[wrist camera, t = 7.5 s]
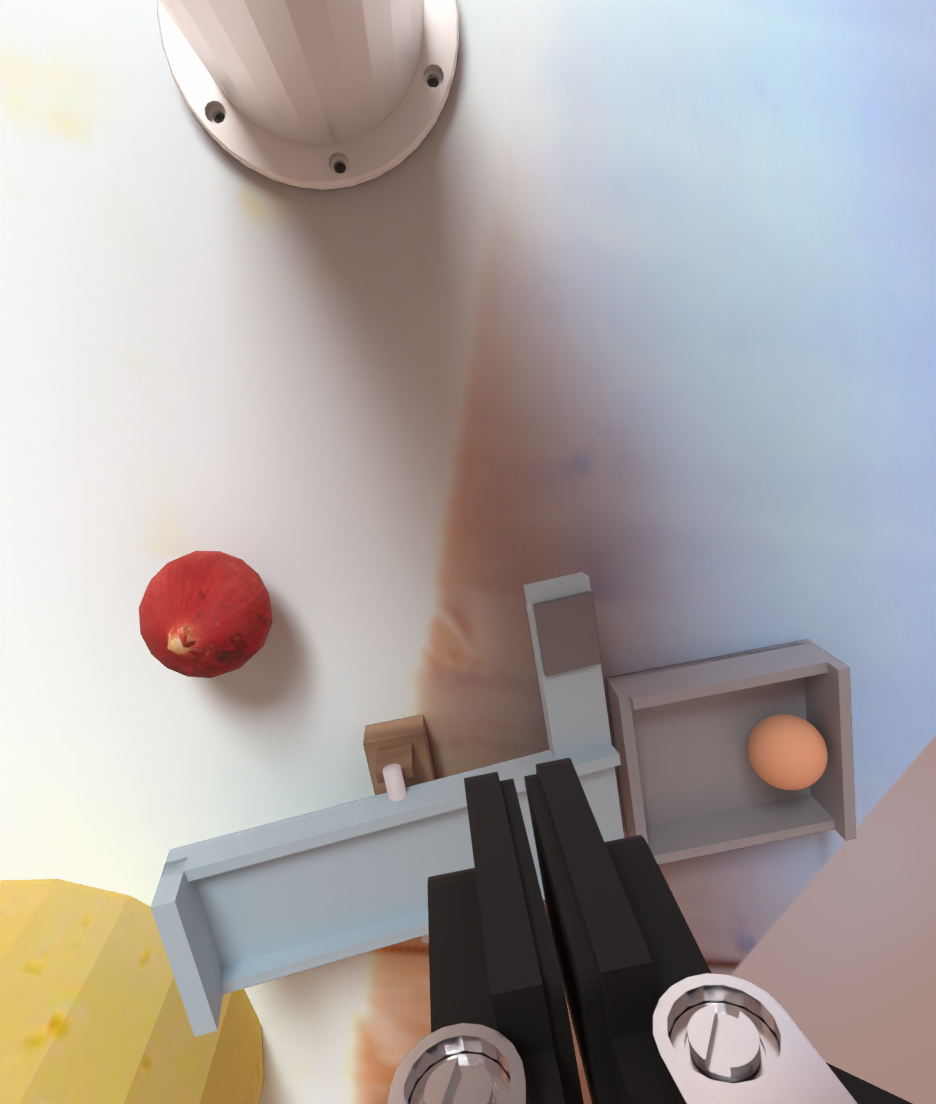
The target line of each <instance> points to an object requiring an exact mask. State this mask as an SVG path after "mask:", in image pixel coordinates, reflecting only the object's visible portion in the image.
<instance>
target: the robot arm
mask: <svg viewBox="0 0 936 1104" xmlns="http://www.w3.org/2000/svg"><path fill="white" fill-rule="evenodd" d="M157 14H158V20H159V27H160V33H161V39H162V46H163V49H164V52H165V55H166V58H167V61H168V64H169V67H170V70H171V73H172V76H173V79H174V81H175V82H176V84H177V86H178V88H179V90H180V92H181V94H182V96H183V98H184V99H185V101H186V103H187V105H188V107H189V108H190V110H191V111H192V112H193V114H194V115H195V116H196V118H197V119H198V120H199V122H200V123H201V124H202V126H203V127H204V128H205V129H206V131H207V132H208V133H209V134H210V135H211V136H212V137H213V138H214V139H215V140H216V141H217V142H218V143H219V145H220V146H221V147H222V148H223V149H225V150H226V151H227V152H228V153H230V154H231V155H232V156H234V157H235V158H236V159H237V160H239V161H240V162H241V163H243V164H244V165H245V166H247V167H248V168H250V169H252V170H254V171H256V172H258V173H260V174H262V175H264V176H266V177H268V178H270V179H272V180H275V181H278V182H282V183H285V184H288V185H292V186H295V187H300V188H311V189H322V190H327V189H335V188H344V187H351V186H354V185H357V184H360V183H363V182H366V181H369V180H372V179H375V178H377V177H379V176H380V175H382V174H384V173H385V172H387V171H389V170H391V169H392V168H394V167H396V166H397V165H399V164H400V163H401V162H402V161H403V160H404V159H405V158H407V157H408V156H409V155H410V154H411V153H412V152H413V151H414V150H415V149H416V148H417V147H419V145H420V144H421V143H422V141H423V140H424V138H425V137H426V136H427V134H428V133H429V132H430V130H431V129H432V128H433V126H434V125H435V123H436V121H437V119H438V117H439V115H440V113H441V111H442V109H443V107H444V105H445V102H446V100H447V98H448V95H449V91H450V87H451V84H452V80H453V77H454V73H455V69H456V61H457V54H458V48H459V10H458V4H457V0H158V9H157ZM430 78H436V79H437V80H438V82H439V84H438V86H437V87H430V86H429V85H428V83H427V82H428V80H429V79H430ZM219 113H223V114H224V115H225V118H224V120H223V122H221V123H216V122H215V117H216V115H217V114H219ZM338 163H343V164H344V165H345V166H346V170H345V171H344V172H343V173H337V172H336V171H335V166H336V165H337V164H338ZM524 780H525V787H526V793H527V798H528V804H529V810H530V816H531V822H532V827H533V833H534V839H535V845H536V851H537V857H538V862H539V868H540V874H541V880H542V886H543V891H544V897H545V903H546V909H547V914H546V910H545V906H544V902H543V898H542V894H541V890H540V886H539V881H538V877H537V873H536V869H535V865H534V861H533V857H532V853H531V849H530V845H529V841H528V836H527V832H526V828H525V824H524V820H523V816H522V812H521V808H520V804H519V800H518V795H517V791H516V787H515V783H514V779H513V778H512V779H507V780H502V781H500V779H499V775H498V772H492V773H487V774H482V775H477V776H472V777H467V778H464V785H465V793H466V801H467V809H468V817H469V825H470V833H471V842H472V850H473V858H474V866H475V868H471V869H466V870H461V871H456V872H451V873H446V874H441V875H436V876H431V877H428V884H427V891H428V927H429V964H430V1001H431V1034H429V1035H427V1036H425V1037H424V1038H422V1039H421V1040H420V1041H419V1042H418V1043H417V1044H416V1045H415V1046H413V1047H412V1048H411V1049H410V1050H409V1051H408V1052H407V1054H406V1055H405V1057H404V1058H403V1060H402V1061H401V1063H400V1064H399V1066H398V1067H397V1069H396V1072H395V1075H394V1078H393V1081H392V1084H391V1087H390V1090H389V1095H388V1101H387V1104H584V1103H583V1097H582V1091H581V1086H580V1080H579V1074H578V1068H577V1062H576V1056H575V1050H574V1044H573V1038H572V1033H571V1027H570V1021H569V1015H568V1009H567V1003H566V998H567V1002H568V1006H569V1010H570V1015H571V1019H572V1023H573V1027H574V1031H575V1035H576V1039H577V1043H578V1047H579V1051H580V1056H581V1060H582V1064H583V1068H584V1072H585V1076H586V1080H587V1084H588V1088H589V1093H590V1097H591V1101H592V1104H912V1103H910V1102H907V1101H906V1100H903V1099H901V1098H899V1097H897V1096H895V1095H893V1094H891V1093H889V1092H887V1091H884V1090H882V1089H880V1088H878V1087H876V1086H874V1085H872V1084H870V1083H868V1082H866V1081H864V1080H861V1079H859V1078H857V1077H855V1076H853V1075H851V1074H849V1073H847V1072H845V1071H843V1070H841V1069H839V1068H836V1067H834V1066H832V1065H830V1064H828V1063H826V1062H825V1061H824V1060H823V1059H822V1058H821V1056H820V1055H819V1053H818V1052H817V1051H816V1050H815V1048H814V1047H813V1046H812V1045H811V1043H810V1042H809V1041H808V1040H807V1038H806V1037H805V1035H804V1034H803V1033H802V1032H801V1030H800V1029H799V1028H798V1027H797V1025H796V1024H795V1023H794V1021H793V1020H792V1019H791V1018H790V1016H789V1015H788V1014H787V1012H786V1011H785V1010H784V1008H783V1007H782V1006H780V1004H779V1003H778V1002H776V1000H775V999H774V998H773V997H772V996H771V995H769V993H767V992H766V991H764V990H762V989H761V988H759V987H757V986H756V985H754V984H752V983H751V982H749V981H746V980H743V979H739V978H737V977H733V976H730V975H725V974H712V973H711V971H710V969H709V967H708V965H707V963H706V961H705V959H704V957H703V955H702V953H701V951H700V949H699V947H698V945H697V943H696V941H695V939H694V937H693V935H692V933H691V931H690V929H689V927H688V925H687V923H686V921H685V919H684V917H683V915H682V913H681V911H680V909H679V907H678V905H677V902H676V900H675V898H674V896H673V894H672V892H671V890H670V888H669V886H668V884H667V882H666V880H665V878H664V876H663V874H662V872H661V870H660V868H659V866H658V864H657V862H656V860H655V858H654V856H653V854H652V852H651V850H650V848H649V846H648V844H647V842H646V840H645V839H644V837H643V836H641V835H637V836H632V837H627V838H622V839H617V840H612V841H607V842H604V840H603V837H602V835H601V832H600V830H599V827H598V825H597V822H596V820H595V817H594V815H593V812H592V810H591V807H590V805H589V803H588V800H587V798H586V795H585V793H584V790H583V788H582V785H581V783H580V780H579V778H578V775H577V773H576V770H575V768H574V765H573V763H572V761H571V759H570V758H564V759H559V760H554V761H549V762H544V763H539V764H536V774H533V775H528V776H524ZM547 915H548V918H547ZM548 920H549V922H548ZM549 926H550V927H549ZM563 986H564V987H563ZM564 990H565V992H564ZM565 994H566V998H565Z"/></svg>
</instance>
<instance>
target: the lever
mask: <svg viewBox="0 0 936 1104" xmlns="http://www.w3.org/2000/svg"><path fill="white" fill-rule="evenodd" d="M523 587H524V593H525V600H526V606H527V612H528V619H529V625H530V631H531V637H532V644H533V650H534V656H535V662H536V669H537V675H538V681H539V687H540V694H541V700H542V706H543V713H544V719H545V725H546V731H547V738H548V744H549V750H547V751H543V752H539V753H535V754H531V755H528V756H524V757H520V758H516V759H512V760H509V761H505V762H501V763H497V764H493V765H490V766H486V767H482V768H478V769H474V770H471V771H467V772H463V773H459V774H455V775H452V776H448V777H444V778H440V779H436V780H433V781H429V782H425V783H421V784H417V785H414V786H410V787H406V788H405V783H404V779H403V774H402V770H401V766H400V765H399V764H389V765H387V766H385V767H384V768H383V775H384V780H385V784H386V788H387V793H383V794H379V795H376V796H372V797H368V798H364V799H360V800H357V801H353V802H349V803H345V804H341V805H338V806H334V807H330V808H326V809H323V810H319V811H315V812H311V813H307V814H304V815H300V816H296V817H292V818H288V819H285V820H281V821H277V822H273V823H269V824H266V825H262V826H258V827H254V828H250V829H247V830H243V831H239V832H235V833H231V834H228V835H224V836H220V837H216V838H212V839H209V840H205V841H201V842H197V843H193V844H190V845H186V846H182V847H178V848H174V849H171V850H170V851H169V854H168V857H167V860H166V863H165V866H164V869H163V872H162V875H161V878H160V881H159V884H158V887H157V890H156V893H155V896H154V899H153V902H152V905H151V911H152V914H153V917H154V920H155V923H156V926H157V928H158V931H159V934H160V937H161V940H162V943H163V946H164V949H165V952H166V955H167V958H168V961H169V964H170V967H171V970H172V972H173V975H174V978H175V981H176V984H177V987H178V990H179V993H180V996H181V999H182V1002H183V1005H184V1008H185V1011H186V1014H187V1016H188V1019H189V1022H190V1025H191V1028H192V1031H193V1034H194V1037H197V1036H200V1035H204V1034H207V1033H210V1032H214V1031H217V1029H218V1023H219V1017H220V1011H221V1005H222V999H223V994H226V993H230V992H233V991H237V990H240V989H243V988H247V987H250V986H254V985H257V984H260V983H264V982H267V981H271V980H274V979H277V978H281V977H284V976H288V975H291V974H294V973H298V972H301V971H305V970H308V969H311V968H315V967H318V966H322V965H325V964H328V963H332V962H335V961H339V960H342V959H345V958H349V957H352V956H356V955H359V954H362V953H366V952H369V951H372V950H376V949H379V948H383V947H386V946H389V945H393V944H396V943H400V942H403V941H406V940H410V939H413V938H417V937H421V941H422V942H423V943H427V944H428V943H429V927H428V891H427V884H428V877H431V876H436V875H441V874H446V873H451V872H456V871H461V870H466V869H471V868H475V866H474V858H473V850H472V842H471V833H470V825H469V817H468V809H467V801H466V793H465V785H464V778H467V777H472V776H477V775H482V774H487V773H492V772H498V775H499V779H500V781H502V780H507V779H512V778H513V779H514V783H515V787H516V791H517V795H518V800H519V804H520V808H521V812H522V816H523V820H524V824H525V828H526V832H527V836H528V841H529V845H530V849H531V853H532V857H533V861H534V865H535V869H536V873H537V877H538V881H539V886H540V890H541V894H542V898H543V900H545V897H544V891H543V886H542V880H541V874H540V868H539V862H538V857H537V851H536V845H535V839H534V833H533V827H532V822H531V816H530V810H529V804H528V798H527V793H526V787H525V780H524V776H528V775H533V774H536V764H539V763H544V762H549V761H554V760H559V759H564V758H570V759H571V761H572V763H573V765H574V768H575V770H576V773H577V775H578V778H579V780H580V783H581V785H582V788H583V790H584V793H585V795H586V798H587V800H588V803H589V805H590V807H591V810H592V812H593V815H594V817H595V820H596V822H597V825H598V827H599V830H600V832H601V835H602V837H603V840H604V842H607V841H612V840H617V839H622V838H624V833H623V825H622V818H621V810H620V803H619V795H618V788H617V781H616V773H615V766H618V765H621V763H620V755H619V753H618V752H617V751H616V749H615V748H614V747H613V746H612V743H611V736H610V729H609V721H608V714H607V706H606V699H605V691H604V684H603V676H602V669H601V657H600V650H599V642H598V635H597V627H596V620H595V612H594V605H593V597H592V593H591V587H590V580H589V576H587V575H586V574H584V573H583V572H578V573H574V574H569V575H565V576H561V577H556V578H552V579H547V580H543V581H539V582H534V583H530V584H525V585H523Z"/></svg>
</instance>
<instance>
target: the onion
mask: <svg viewBox="0 0 936 1104" xmlns="http://www.w3.org/2000/svg"><path fill="white" fill-rule="evenodd" d="M139 616H140V631H141V635H142V637H143V639H144V641H145V643H146V645H147V647H148V648H149V650H150V652H151V654H152V655H153V656H154V657H155V658H156V659H158V660H159V661H160V662H161V663H162V664H163V665H164V666H166V667H167V668H168V669H171V670H173V671H176V672H178V673H181V674H183V675H186V676H189V677H205V678H212V677H215V676H218V675H221V674H224V673H227V672H230V671H233V670H236V669H239V668H240V667H241V666H243V665H244V664H245V663H246V662H247V661H248V660H249V659H250V658H251V657H252V656H253V655H254V654H255V653H256V652H258V651H259V650H260V649H261V648H262V647H263V646H264V643H265V640H266V637H267V635H268V632H269V629H270V627H271V624H272V612H271V605H270V598H269V593H268V591H267V589H266V588H265V586H264V584H263V582H262V580H261V578H260V576H259V574H258V573H256V572H255V571H254V570H253V569H252V568H251V567H250V566H248V565H247V564H246V563H245V562H244V561H243V560H241V559H239V558H236V557H233V556H231V555H228V554H225V553H222V552H220V551H195V552H193V553H190V554H188V555H185V556H183V557H180V558H178V559H176V560H173V561H171V562H169V563H167V564H166V565H165V566H164V567H163V568H162V569H161V570H160V571H159V572H158V573H157V574H156V575H155V576H154V577H153V578H152V579H151V581H150V583H149V585H148V586H147V589H146V591H145V594H144V596H143V599H142V601H141V604H140V606H139Z"/></svg>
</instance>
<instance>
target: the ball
mask: <svg viewBox="0 0 936 1104" xmlns="http://www.w3.org/2000/svg"><path fill="white" fill-rule="evenodd" d="M747 748H748V757H749V760H750V763H751V765H752V767H753V769H754V770H755V772H756V773H757V774H758V775H759V776H760V777H761V778H762V779H763V780H764V781H766V782H767V783H769V784H770V785H772V786H774V787H777V788H780V789H784V790H799V789H803V788H806V787H809V786H811V785H812V784H814V783H815V782H816V781H817V780H818V779H819V778H820V777H821V776H822V774H823V772H824V771H825V768H826V765H827V760H828V753H827V747H826V744H825V741H824V739H823V737H822V735H821V734H820V732H819V731H818V730H817V729H816V728H815V727H814V726H813V725H812V724H811V723H809V722H808V721H806V720H804V719H802V718H800V717H797V716H794V715H789V714H777V715H773V716H769V717H767V718H765V719H763V720H762V721H760V722H759V723H758V724H757V725H756V726H755V727H754V729H753V730H752V732H751V734H750V736H749V740H748V746H747Z"/></svg>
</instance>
